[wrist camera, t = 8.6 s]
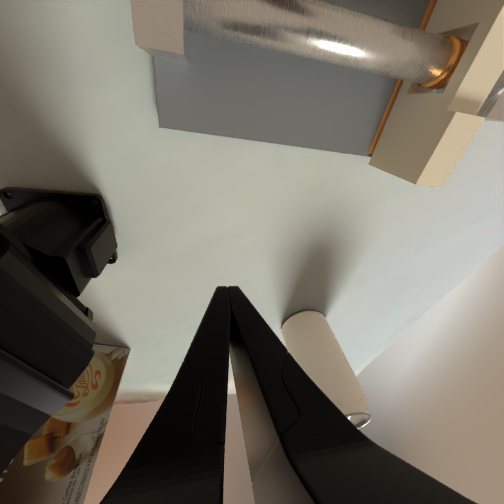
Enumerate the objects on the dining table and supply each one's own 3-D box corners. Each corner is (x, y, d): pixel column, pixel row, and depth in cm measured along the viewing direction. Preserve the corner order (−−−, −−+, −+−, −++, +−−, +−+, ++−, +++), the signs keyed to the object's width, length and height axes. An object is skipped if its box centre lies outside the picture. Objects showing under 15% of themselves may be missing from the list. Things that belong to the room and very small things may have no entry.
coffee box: (44, 365, 28) (-100, 598, 15) (46, 336, 25) (-132, 594, 12) (123, 372, 31) (62, 566, 18) (133, 347, 28) (68, 556, 15)
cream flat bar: (368, 164, 17) (415, 184, 13) (474, -89, 11) (631, -200, 7) (389, 166, 18) (441, 187, 14) (504, -75, 11) (669, -172, 7)
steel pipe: (153, 56, 12) (134, 43, 9) (143, -57, 10) (115, -121, 7) (458, 118, 17) (511, 122, 14) (498, 48, 15) (572, 36, 12)
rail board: (161, 125, 15) (158, 127, 14) (139, -179, 9) (131, -209, 8) (422, 162, 20) (432, 165, 19) (525, -25, 13) (546, -33, 13)
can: (320, 302, 29) (375, 405, 19) (327, 328, 33) (376, 425, 23) (274, 319, 29) (305, 427, 20) (286, 342, 33) (318, 443, 24)
